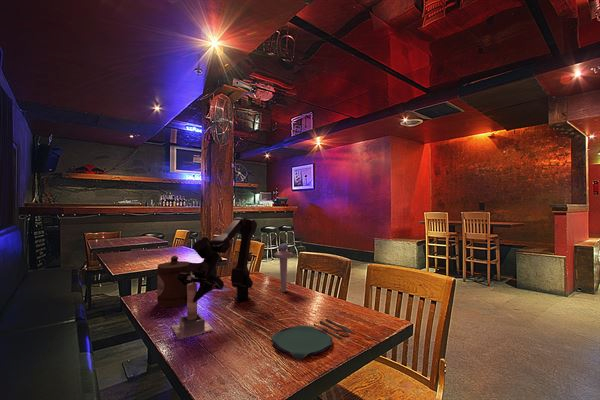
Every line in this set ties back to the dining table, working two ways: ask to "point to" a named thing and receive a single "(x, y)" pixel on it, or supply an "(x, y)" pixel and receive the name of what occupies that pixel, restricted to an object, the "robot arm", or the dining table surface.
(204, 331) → the cup bracket
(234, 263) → the ammunition clip
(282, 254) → the novelty light stick
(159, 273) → the wooden container
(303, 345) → the cutlery set
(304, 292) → the dining table surface
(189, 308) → the wooden post
